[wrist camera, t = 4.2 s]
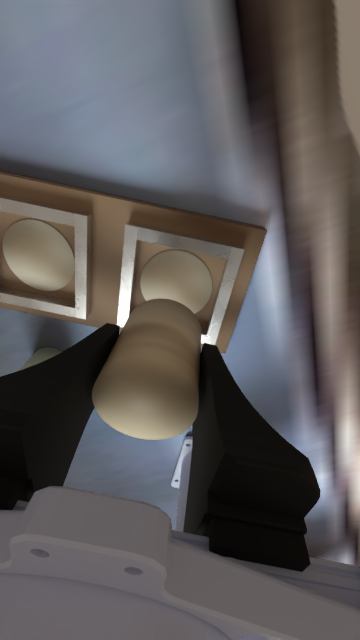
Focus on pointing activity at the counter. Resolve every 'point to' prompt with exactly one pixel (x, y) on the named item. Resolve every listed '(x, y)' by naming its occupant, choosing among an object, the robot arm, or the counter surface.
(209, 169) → the counter surface
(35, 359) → the sage peg
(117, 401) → the ash peg
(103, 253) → the board
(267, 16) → the counter surface
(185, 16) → the counter surface
